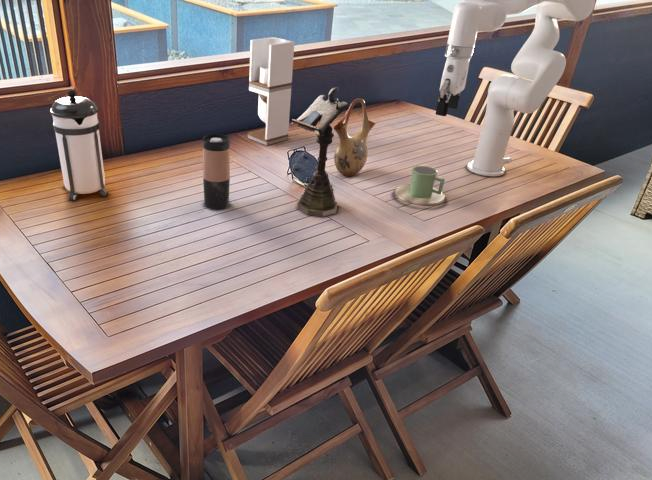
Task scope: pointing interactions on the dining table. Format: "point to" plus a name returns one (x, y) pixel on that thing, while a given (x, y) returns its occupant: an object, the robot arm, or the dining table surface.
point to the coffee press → (79, 145)
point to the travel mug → (216, 170)
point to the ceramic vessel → (352, 143)
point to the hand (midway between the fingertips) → (446, 111)
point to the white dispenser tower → (271, 86)
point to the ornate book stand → (320, 154)
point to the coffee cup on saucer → (422, 187)
